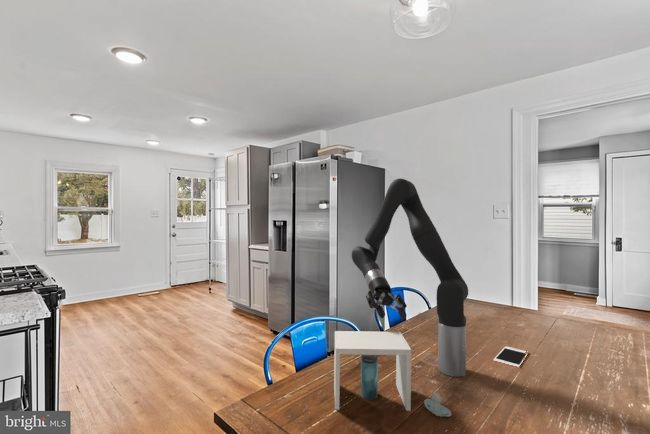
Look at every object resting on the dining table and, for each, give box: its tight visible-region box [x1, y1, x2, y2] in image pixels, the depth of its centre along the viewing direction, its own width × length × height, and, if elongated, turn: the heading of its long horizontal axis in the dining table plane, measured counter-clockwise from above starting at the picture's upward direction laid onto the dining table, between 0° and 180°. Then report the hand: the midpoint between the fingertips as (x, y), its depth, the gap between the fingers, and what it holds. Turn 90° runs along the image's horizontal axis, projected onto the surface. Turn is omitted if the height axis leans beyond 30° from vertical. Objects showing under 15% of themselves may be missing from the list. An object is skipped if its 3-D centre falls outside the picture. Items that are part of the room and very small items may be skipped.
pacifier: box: [423, 391, 452, 418], centre depth 92 cm, size 7×6×6 cm
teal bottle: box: [360, 355, 379, 401], centre depth 100 cm, size 5×5×12 cm
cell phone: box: [493, 346, 528, 367], centre depth 128 cm, size 9×18×1 cm, turn 137°
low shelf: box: [333, 330, 412, 412], centre depth 99 cm, size 14×22×18 cm, turn 90°
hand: (394, 317), depth 109 cm, fingers open, 8 cm apart
